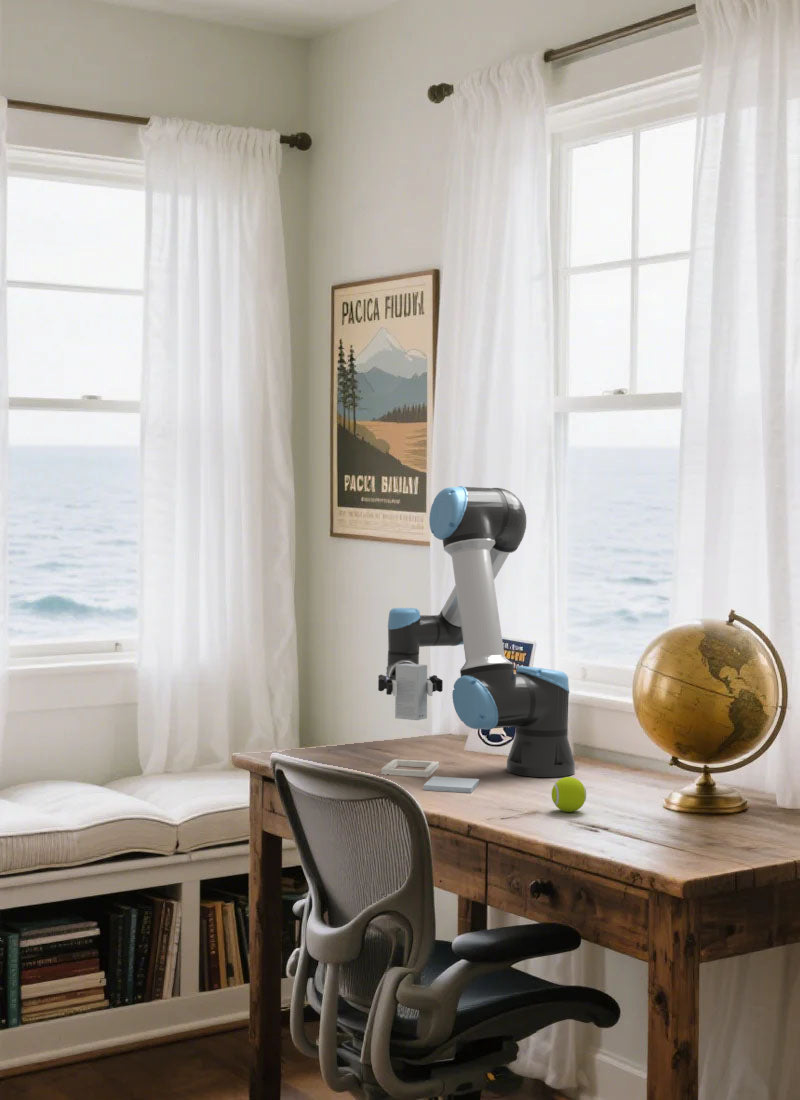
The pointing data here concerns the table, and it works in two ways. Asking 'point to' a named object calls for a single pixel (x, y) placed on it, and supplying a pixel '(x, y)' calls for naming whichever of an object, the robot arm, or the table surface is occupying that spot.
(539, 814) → the table surface
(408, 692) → the skincare box
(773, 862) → the table surface
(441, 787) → the coaster
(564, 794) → the tennis ball
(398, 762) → the grey base tray
